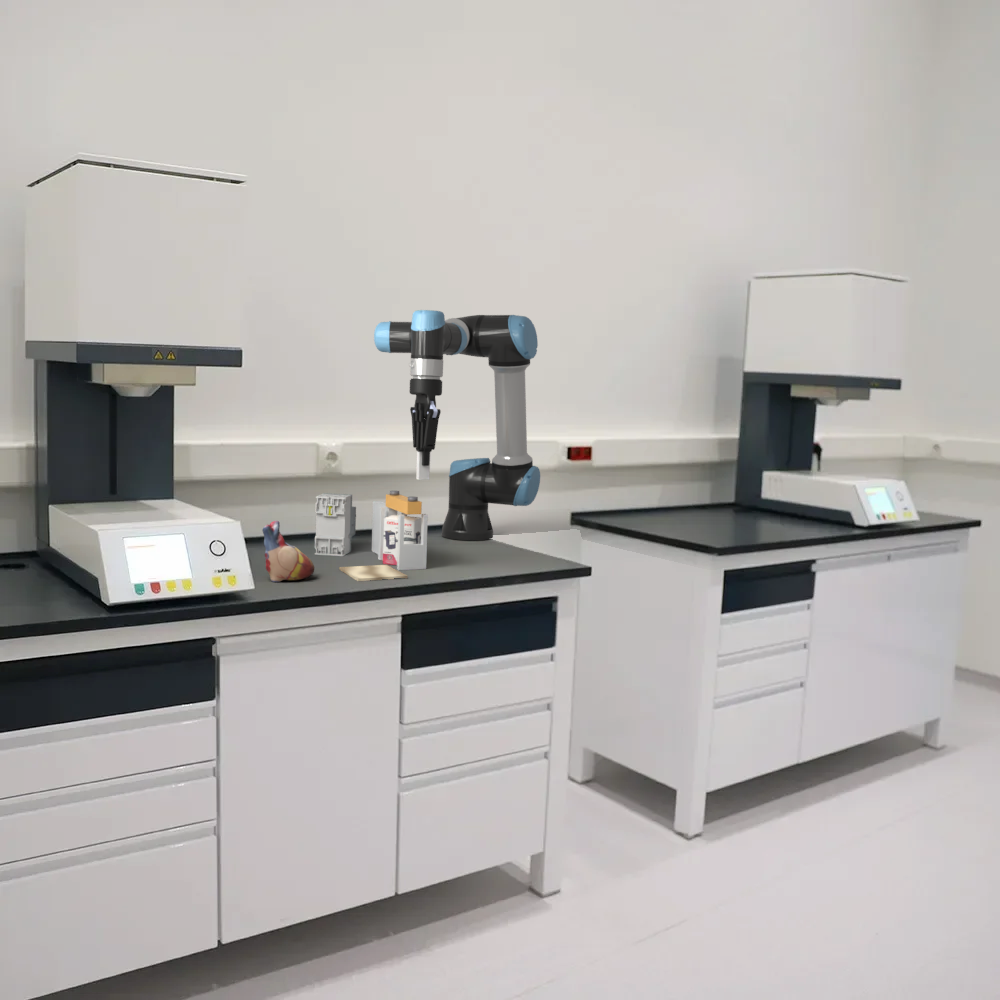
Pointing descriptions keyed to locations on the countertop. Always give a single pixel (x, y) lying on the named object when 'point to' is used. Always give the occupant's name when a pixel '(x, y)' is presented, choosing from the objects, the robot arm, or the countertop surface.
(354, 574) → the birch pad
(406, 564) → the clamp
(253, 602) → the countertop surface
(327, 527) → the circuit breaker
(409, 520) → the ink box
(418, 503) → the bar
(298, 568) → the anatomical model
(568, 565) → the countertop surface
